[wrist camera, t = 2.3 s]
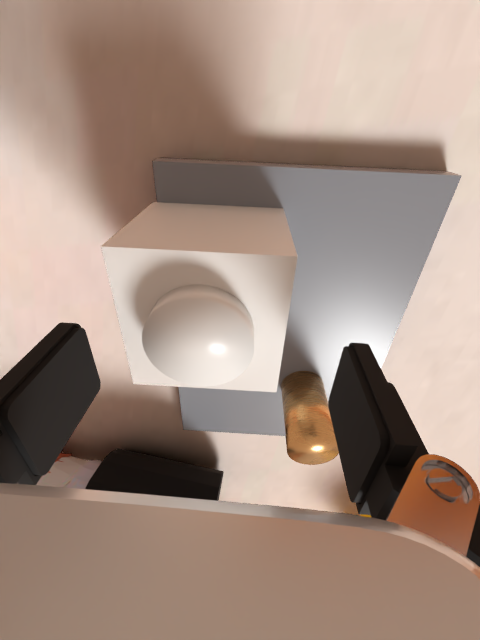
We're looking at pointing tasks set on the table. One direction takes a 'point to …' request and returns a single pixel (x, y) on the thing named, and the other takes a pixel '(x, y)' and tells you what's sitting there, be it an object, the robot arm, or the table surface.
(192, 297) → the white push button box
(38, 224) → the table surface
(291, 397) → the brass cylinder
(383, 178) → the plate
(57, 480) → the black and white bottle
